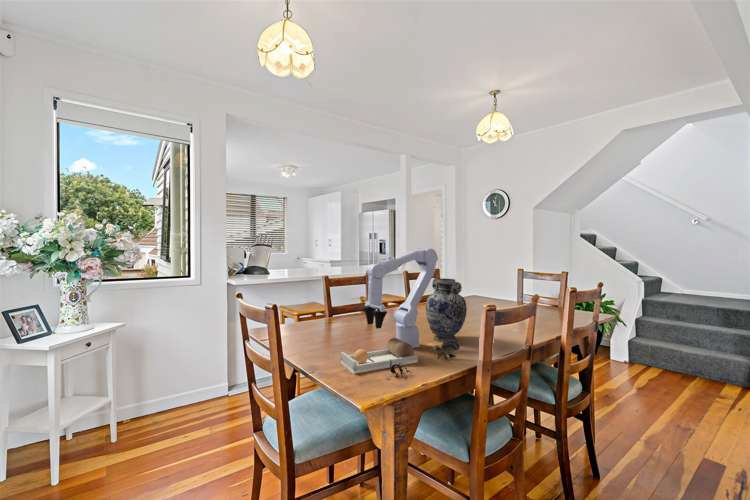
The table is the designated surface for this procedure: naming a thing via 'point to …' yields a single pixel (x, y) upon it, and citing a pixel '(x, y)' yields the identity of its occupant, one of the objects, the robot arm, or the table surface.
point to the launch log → (400, 348)
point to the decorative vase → (446, 309)
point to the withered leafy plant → (446, 348)
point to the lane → (375, 361)
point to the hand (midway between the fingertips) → (374, 326)
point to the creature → (398, 367)
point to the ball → (361, 356)
